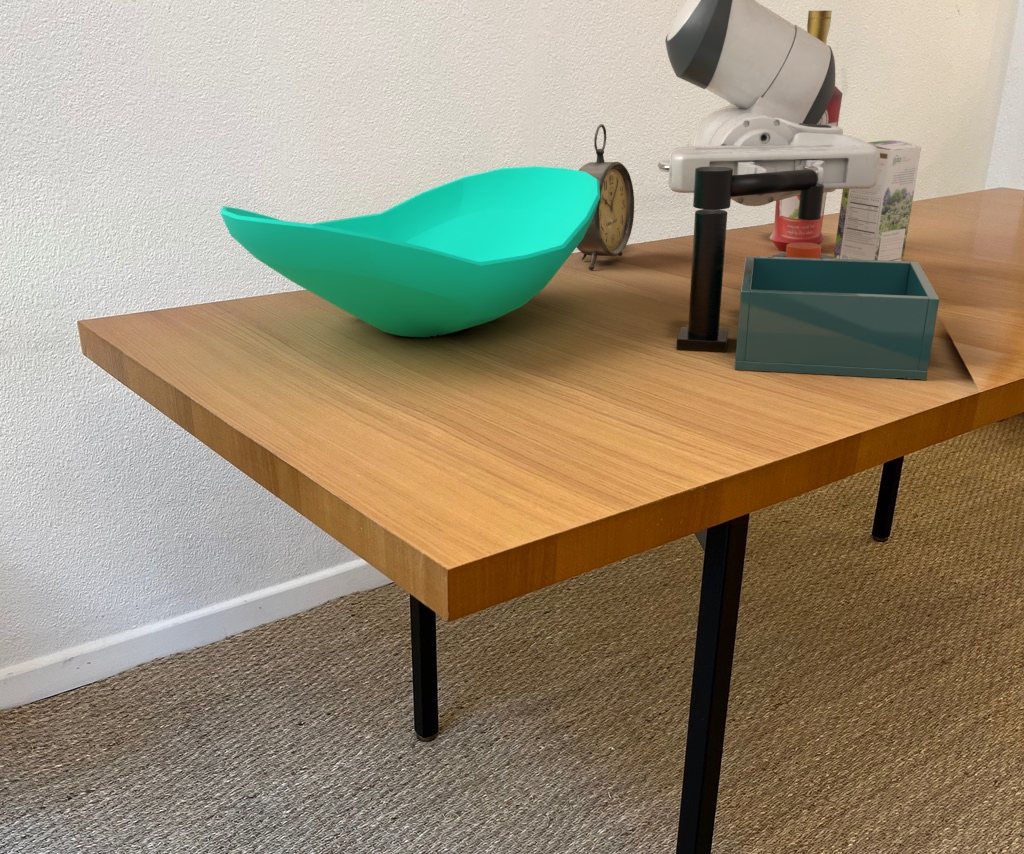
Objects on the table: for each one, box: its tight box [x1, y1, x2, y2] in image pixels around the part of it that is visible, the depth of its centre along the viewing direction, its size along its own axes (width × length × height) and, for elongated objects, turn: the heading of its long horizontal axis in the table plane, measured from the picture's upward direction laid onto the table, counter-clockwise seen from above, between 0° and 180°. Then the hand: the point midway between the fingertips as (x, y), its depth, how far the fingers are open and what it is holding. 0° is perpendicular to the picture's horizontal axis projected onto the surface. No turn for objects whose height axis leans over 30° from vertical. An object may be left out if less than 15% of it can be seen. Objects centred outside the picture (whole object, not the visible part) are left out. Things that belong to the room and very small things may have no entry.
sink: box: [734, 255, 940, 380], centre depth 93 cm, size 16×15×7 cm
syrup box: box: [833, 139, 922, 261], centre depth 120 cm, size 6×6×14 cm
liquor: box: [769, 10, 843, 252], centre depth 131 cm, size 7×7×28 cm
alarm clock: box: [576, 123, 635, 271], centre depth 127 cm, size 11×5×16 cm, turn 151°
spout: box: [692, 166, 824, 220], centre depth 94 cm, size 14×3×5 cm, turn 115°
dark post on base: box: [676, 209, 729, 353], centre depth 95 cm, size 4×4×12 cm
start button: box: [785, 242, 822, 258], centre depth 112 cm, size 4×4×2 cm
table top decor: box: [220, 165, 600, 338], centre depth 101 cm, size 40×28×13 cm
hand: (792, 179), depth 96 cm, fingers open, 3 cm apart
